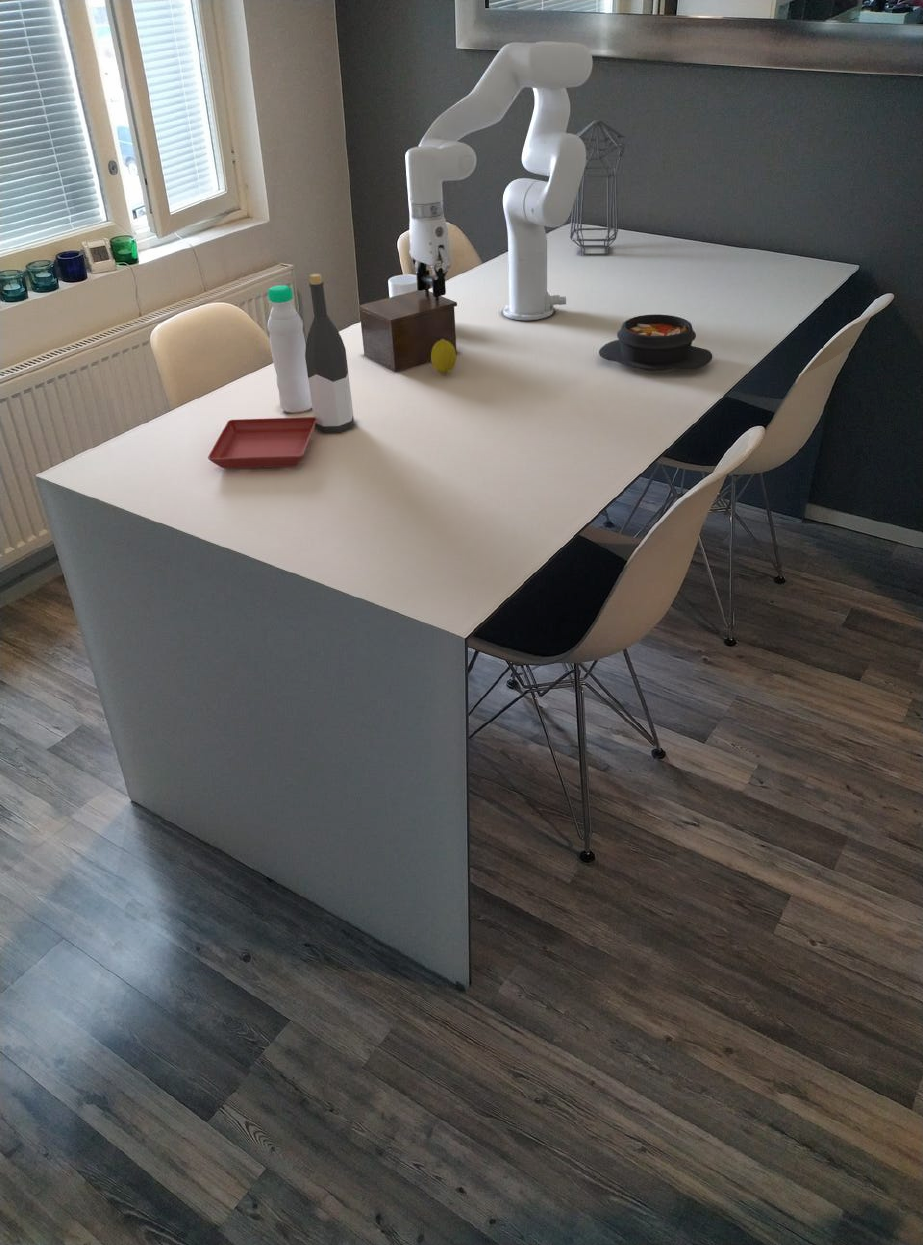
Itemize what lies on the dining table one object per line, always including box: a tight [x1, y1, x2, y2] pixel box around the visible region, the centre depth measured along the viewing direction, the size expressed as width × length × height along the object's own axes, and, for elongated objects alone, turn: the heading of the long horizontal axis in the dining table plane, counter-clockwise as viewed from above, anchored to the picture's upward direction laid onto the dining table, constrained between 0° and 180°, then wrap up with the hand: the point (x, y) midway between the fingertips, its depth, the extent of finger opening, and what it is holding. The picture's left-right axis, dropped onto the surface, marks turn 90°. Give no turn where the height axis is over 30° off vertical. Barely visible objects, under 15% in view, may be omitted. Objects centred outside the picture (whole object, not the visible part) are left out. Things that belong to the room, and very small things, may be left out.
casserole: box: [598, 314, 713, 372], centre depth 221 cm, size 25×19×8 cm
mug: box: [387, 274, 418, 298], centre depth 251 cm, size 12×8×10 cm
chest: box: [358, 307, 458, 373], centre depth 232 cm, size 17×14×11 cm
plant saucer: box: [207, 416, 317, 469], centre depth 194 cm, size 18×18×3 cm
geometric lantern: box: [569, 119, 626, 256], centre depth 288 cm, size 16×16×35 cm
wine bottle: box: [305, 273, 354, 434], centre depth 195 cm, size 8×8×30 cm
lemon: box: [430, 339, 457, 375], centre depth 222 cm, size 6×6×8 cm
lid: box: [358, 274, 458, 324], centre depth 227 cm, size 18×14×6 cm
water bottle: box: [267, 284, 312, 414], centre depth 205 cm, size 7×7×25 cm
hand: (431, 291), depth 231 cm, fingers open, 5 cm apart
